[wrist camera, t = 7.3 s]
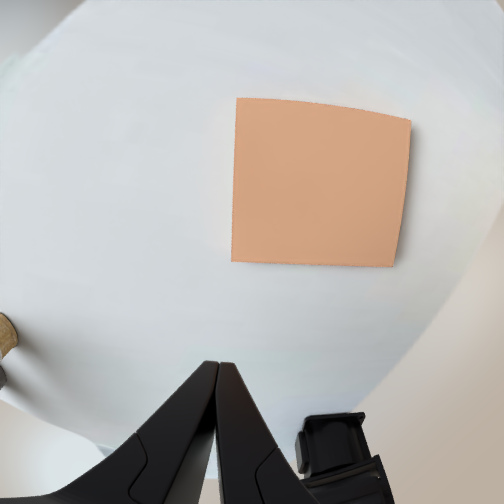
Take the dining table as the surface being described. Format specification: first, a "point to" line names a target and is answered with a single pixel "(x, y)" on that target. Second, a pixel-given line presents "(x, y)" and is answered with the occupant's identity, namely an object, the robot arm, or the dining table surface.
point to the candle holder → (2, 378)
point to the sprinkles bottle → (6, 336)
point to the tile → (317, 184)
